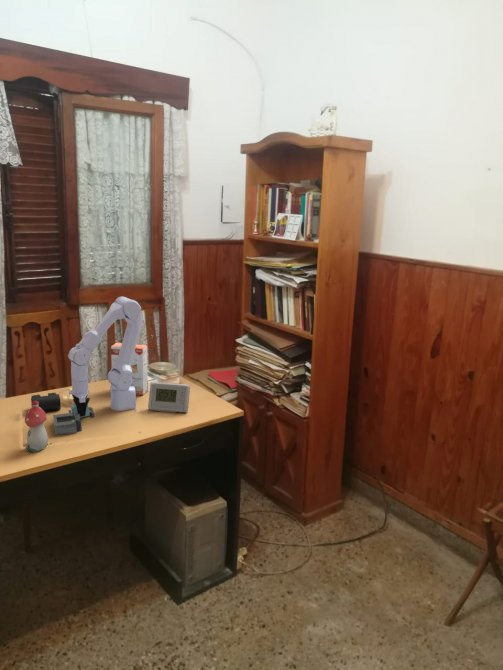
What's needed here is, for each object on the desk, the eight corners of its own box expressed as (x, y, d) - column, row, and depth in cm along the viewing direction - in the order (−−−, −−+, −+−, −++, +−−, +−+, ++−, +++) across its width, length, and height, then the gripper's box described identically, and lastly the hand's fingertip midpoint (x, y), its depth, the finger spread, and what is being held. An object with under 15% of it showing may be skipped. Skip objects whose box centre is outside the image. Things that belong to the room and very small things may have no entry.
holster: (92, 412, 200) (92, 406, 199) (95, 420, 193) (94, 413, 193) (68, 415, 196) (67, 409, 195) (69, 423, 190) (69, 416, 189)
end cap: (33, 417, 194) (31, 400, 192) (30, 410, 200) (29, 394, 198) (61, 413, 198) (60, 396, 197) (58, 406, 204) (57, 390, 203)
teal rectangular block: (91, 411, 197) (89, 400, 196) (92, 415, 194) (90, 404, 193) (72, 415, 195) (70, 404, 194) (73, 419, 192) (71, 408, 190)
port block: (79, 423, 190) (79, 410, 189) (82, 434, 181) (81, 421, 180) (53, 426, 186) (53, 413, 185) (55, 438, 177) (54, 424, 176)
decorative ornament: (33, 440, 175) (30, 398, 172) (52, 441, 175) (50, 399, 172) (21, 453, 166) (18, 409, 163) (41, 454, 166) (39, 410, 163)
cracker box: (111, 393, 221) (110, 345, 216) (117, 388, 227) (116, 341, 222) (143, 396, 219) (142, 348, 214) (148, 391, 225) (147, 344, 220)
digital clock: (145, 410, 204) (145, 384, 202) (156, 402, 213) (156, 377, 210) (183, 416, 200) (183, 390, 197) (193, 408, 208) (193, 383, 205)
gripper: (66, 374, 196) (68, 408, 199) (70, 386, 183) (71, 422, 186) (86, 372, 199) (87, 405, 202) (90, 384, 186) (92, 420, 189)
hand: (81, 413), depth 194 cm, fingers closed on teal rectangular block, 3 cm apart
